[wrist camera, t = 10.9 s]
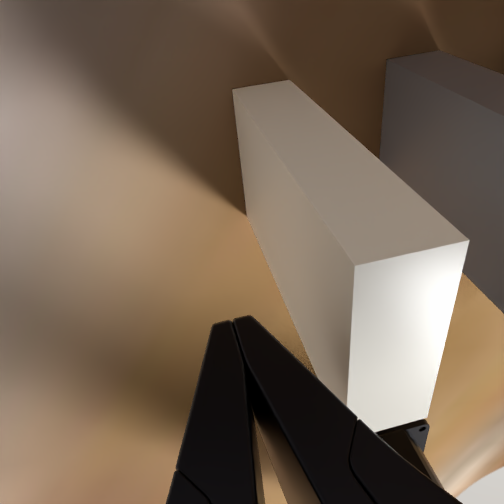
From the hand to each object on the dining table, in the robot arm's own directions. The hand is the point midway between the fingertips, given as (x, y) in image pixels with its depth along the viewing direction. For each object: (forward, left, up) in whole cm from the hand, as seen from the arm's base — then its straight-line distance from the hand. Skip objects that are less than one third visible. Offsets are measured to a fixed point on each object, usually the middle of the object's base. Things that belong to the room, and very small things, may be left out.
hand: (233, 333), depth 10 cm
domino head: (0, -3, -8) cm, 9 cm away
